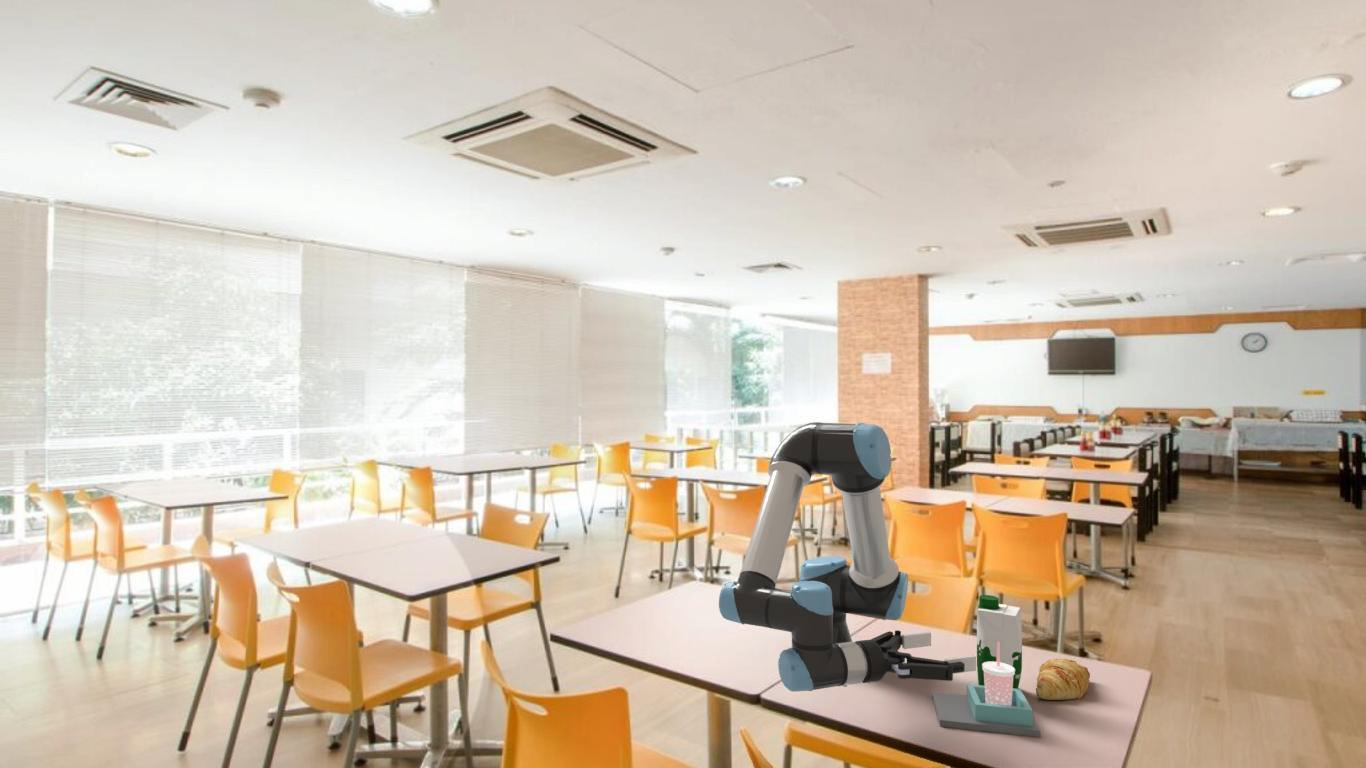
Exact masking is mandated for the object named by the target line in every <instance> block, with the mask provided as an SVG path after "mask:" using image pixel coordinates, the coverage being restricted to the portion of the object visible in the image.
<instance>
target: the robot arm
mask: <svg viewBox="0 0 1366 768" xmlns="http://www.w3.org/2000/svg"><path fill="white" fill-rule="evenodd" d="M890 445H891V444H890V441H889V438H888V435H887V434H886V431H885V430H884V428H882V427H880V426H879V425H877V424H870V423H869V424H868V423H865V422H858V423H839V422H837V423H836V422H819V421H817V422H814V421H813V422H809V423H805V424H803V425H801V426H799V427H797V428H795V429H794V430H793V431H792V432H790V433H789V434H788V435H787V436H785V438H784V439H783V440H782V441H781V442H780V444H779V445H778V446H777V448H776V449H775V450H774V452H773V455H772V456H771V459H770V462H769V465H768V467H767V473H768V474H767V475H768V476H769V480H768V483H767V486H766V489H765V492H764V496H763V499H762V502H761V505H760V508H759V512H758V516H757V518H756V521H755V524H754V529H753V530H752V531H753V532H752V534H751V537H750V541H749V544H748V547H747V549H746V553H745V556H744V560H743V563H742V567H741V570H740V573H739V576H738V578H737V580H736V581H727V582H726V583H724V585H723V586H722V588H721V589H720V593H719V597H718V608H719V613H720V615H721V616H722V618H723V619H725V620H727V621H729V622H734V623H737V624H741V625H750V626H756V627H762V628H768V629H772V630H778V631H782V632H787V633H788V632H789V633H791V647H788V648H787V649H783V650H782V651H781V652H780V654H779V657H778V659H777V660H778V661H777V662H778V664H777V665H778V674H779V676H780V677H779V678H780V680H781V682H782V685H783V686H784V687H785V688H787V690H788V691H790V692H813V691H815V690H816V691H817V690H821V689H822V690H823V689H828V688H833V687H834V688H835V687H844V688H847V687H848V686H850V685H858V684H861V683H864V684H865V683H867V684H868V683H871V682H872V683H873V682H879V681H881V680H882V679H883V678H884V677H885V675H886V673H887V672H888V673H894V674H895V673H897V678H898V679H900V680H907V679H914V680H915V679H917V680H919V679H920V680H933V681H944V682H945V681H946V682H952V681H953V679H954V678H953V677H954V675H955V674H961V673H962V674H963V673H969V672H976V671H977V655H974V654H971V655H963V656H955V657H949V658H948V657H947V658H944V660H940V659H939V660H938V659H933V658H932V659H931V658H925V657H918V656H913V655H912V654H911V653H907V652H900V651H899V650H900V648H901V647H902V649H904V650H909V649H917V648H923V647H932V632H931V631H923V632H922V631H921V632H914V633H906V634H902V631H901V630H894V632H893V631H887V632H884V633H882V634H880V635H878V636H875V637H873V638H871V639H863V640H856V641H853V639H852V636H851V633H850V630H849V629H850V628H849V627H848V623H847V614H849V615H854V616H861V617H866V618H873V619H876V620H877V619H878V620H883V621H885V620H888V621H898V620H900V619H901V618H902V616H903V614H904V610H905V607H906V601H907V597H908V596H907V595H908V587H909V575H908V574H907V573H906V572H904V571H902V570H899V566H898V563H897V562H896V561H895V559H894V558H892V557H891V554H890V548H889V547H890V546H889V540H888V535H887V528H886V522H885V516H884V515H885V514H884V508H883V507H884V506H883V500H882V495H881V488H880V487H881V486H882V485H883V484H884V482H885V481H886V480H885V479H886V478H887V477H888V476H889V474H890V472H891V469H892V456H891V453H892V450H891V449H892V448H891V446H890ZM814 475H824V476H825V475H827V476H831V481H832V484H833V486H834V488H835V489H837V490H838V491H840V493H841V497H842V502H843V503H842V504H843V509H844V514H845V521H846V526H847V530H848V531H847V532H848V538H849V544H850V548H851V553H852V560H853V561H852V562H851V564H850V565H848V561H847V559H846V558H845V557H841V556H820V557H814V558H808V559H806V560H805V561H804V562H802V563H801V565H800V571H799V573H800V575H799V581H796V582H795V583H793V584H792V586H791V590H789V589H782V588H776V584H777V581H778V578H779V573H780V571H781V568H782V564H783V560H784V557H785V552H786V549H787V547H788V546H787V545H788V543H789V539H790V536H791V532H792V529H793V525H794V521H795V517H796V514H797V512H798V507H799V504H800V500H801V497H802V494H803V490H804V487H805V488H806V487H807V486H808V485H810V483H811V478H812V476H814Z"/></svg>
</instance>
